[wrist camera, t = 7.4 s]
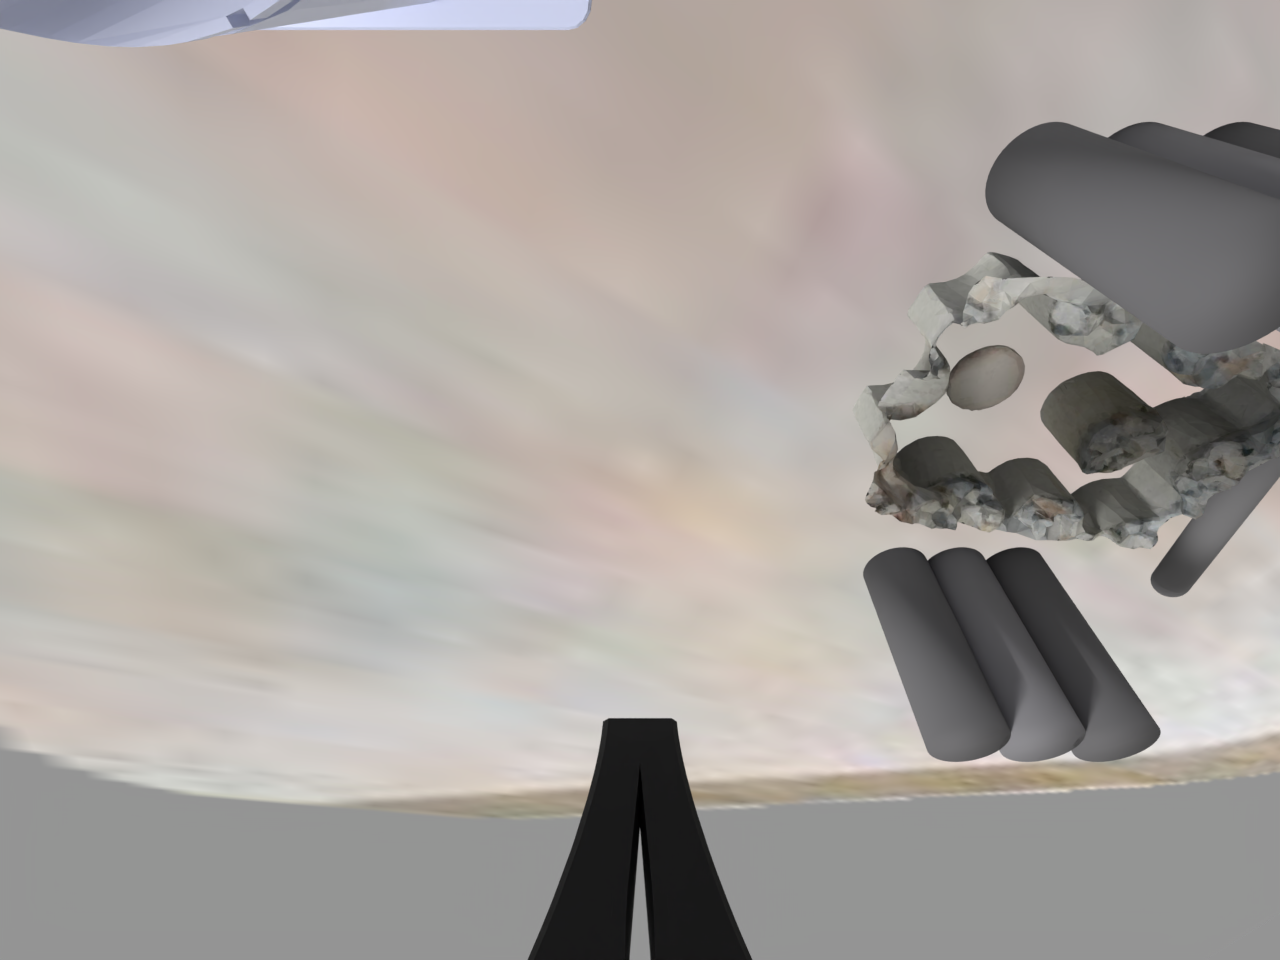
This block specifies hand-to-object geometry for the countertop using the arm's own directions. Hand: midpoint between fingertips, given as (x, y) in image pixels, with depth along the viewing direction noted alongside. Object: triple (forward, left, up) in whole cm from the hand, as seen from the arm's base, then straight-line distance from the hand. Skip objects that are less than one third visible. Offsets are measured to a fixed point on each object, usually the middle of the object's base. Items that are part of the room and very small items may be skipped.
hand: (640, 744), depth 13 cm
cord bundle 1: (+6, +12, -10) cm, 17 cm away
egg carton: (-2, +12, -11) cm, 16 cm away
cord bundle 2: (-8, +12, -10) cm, 18 cm away
